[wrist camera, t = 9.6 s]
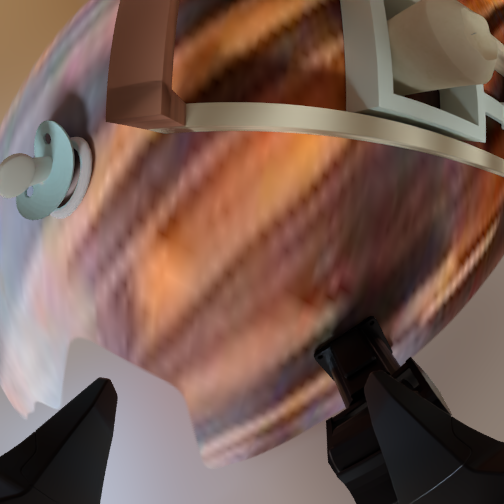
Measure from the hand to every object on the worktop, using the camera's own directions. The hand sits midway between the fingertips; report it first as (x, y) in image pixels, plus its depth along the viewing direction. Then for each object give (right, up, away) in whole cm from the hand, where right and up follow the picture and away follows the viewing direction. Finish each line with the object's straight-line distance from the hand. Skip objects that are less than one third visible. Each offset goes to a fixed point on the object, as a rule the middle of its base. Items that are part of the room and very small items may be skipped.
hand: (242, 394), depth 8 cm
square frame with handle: (+18, +19, +7) cm, 27 cm away
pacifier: (-14, +10, +8) cm, 19 cm away
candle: (+10, +19, +7) cm, 22 cm away
